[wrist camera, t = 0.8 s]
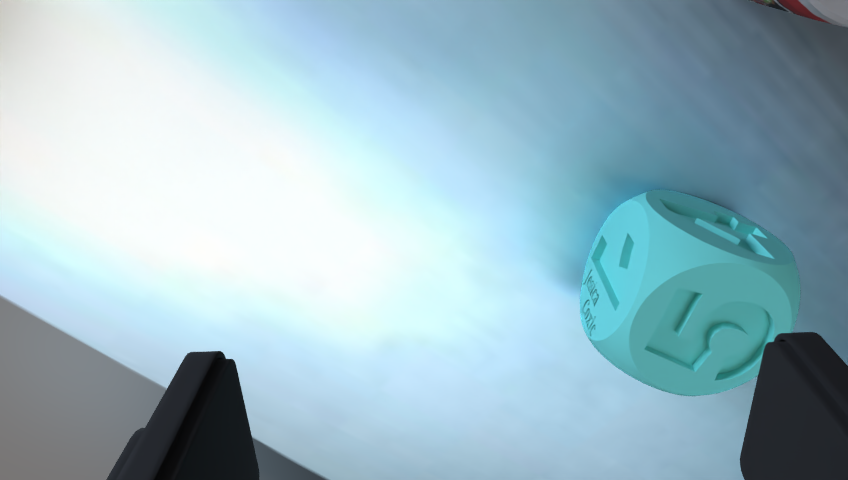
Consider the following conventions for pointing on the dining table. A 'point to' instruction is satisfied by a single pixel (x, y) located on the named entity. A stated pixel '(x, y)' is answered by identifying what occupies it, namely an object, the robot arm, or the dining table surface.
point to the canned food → (813, 9)
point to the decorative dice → (686, 293)
